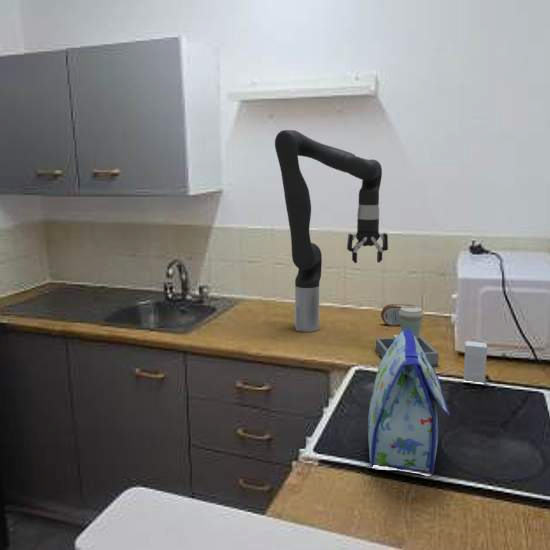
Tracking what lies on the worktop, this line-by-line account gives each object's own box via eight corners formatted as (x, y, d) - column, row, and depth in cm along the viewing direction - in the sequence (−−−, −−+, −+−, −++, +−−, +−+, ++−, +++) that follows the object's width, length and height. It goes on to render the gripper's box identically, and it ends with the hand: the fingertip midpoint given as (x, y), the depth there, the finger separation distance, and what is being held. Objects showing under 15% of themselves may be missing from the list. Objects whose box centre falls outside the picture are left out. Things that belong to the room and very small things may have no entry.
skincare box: (484, 380, 165) (487, 342, 163) (484, 386, 161) (487, 347, 159) (462, 378, 167) (465, 340, 165) (462, 383, 163) (465, 345, 161)
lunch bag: (447, 480, 116) (455, 363, 110) (367, 474, 118) (370, 359, 113) (435, 429, 137) (441, 328, 131) (367, 424, 140) (370, 325, 134)
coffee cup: (424, 338, 203) (425, 306, 200) (419, 345, 195) (421, 313, 193) (400, 335, 206) (401, 304, 204) (395, 342, 199) (396, 310, 196)
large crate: (388, 368, 175) (388, 355, 174) (375, 350, 191) (375, 338, 190) (437, 366, 176) (438, 353, 175) (420, 349, 192) (421, 336, 191)
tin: (419, 324, 219) (420, 304, 217) (420, 327, 216) (421, 306, 214) (380, 323, 221) (381, 303, 219) (381, 326, 218) (382, 305, 216)
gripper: (350, 219, 192) (349, 265, 195) (391, 218, 193) (389, 264, 196) (346, 216, 199) (345, 260, 202) (385, 215, 200) (383, 259, 203)
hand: (367, 262), depth 199 cm, fingers open, 8 cm apart
